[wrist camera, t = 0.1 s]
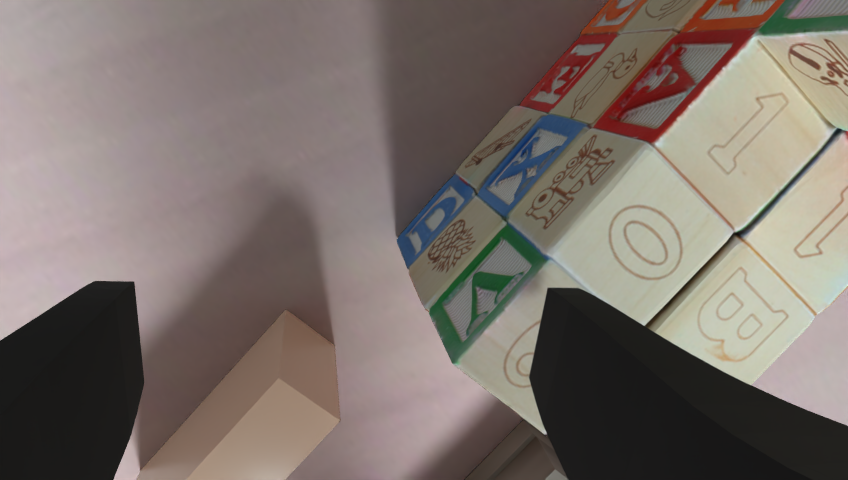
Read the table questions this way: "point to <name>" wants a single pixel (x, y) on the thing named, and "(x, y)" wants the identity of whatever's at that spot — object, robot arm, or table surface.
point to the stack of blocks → (653, 190)
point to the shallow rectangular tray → (521, 458)
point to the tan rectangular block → (258, 412)
